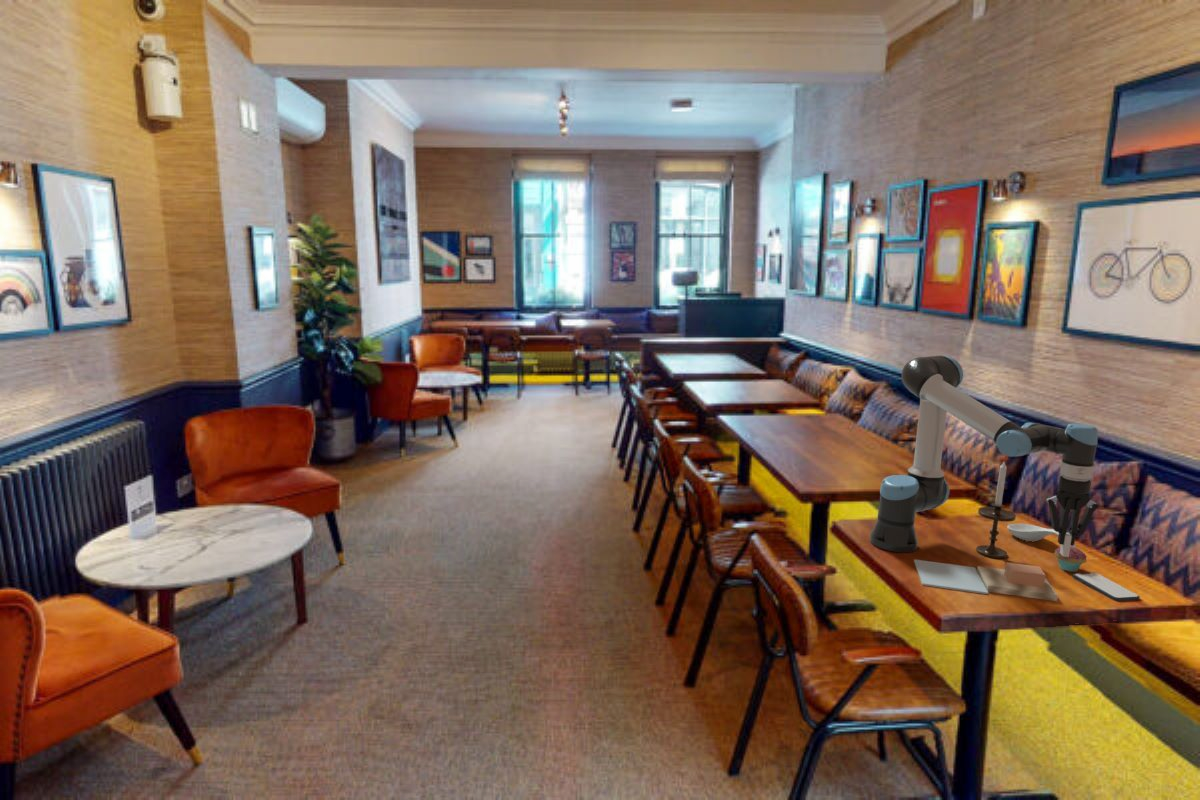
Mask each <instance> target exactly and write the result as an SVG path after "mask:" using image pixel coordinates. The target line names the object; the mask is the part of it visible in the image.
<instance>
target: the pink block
mask: <svg viewBox="0 0 1200 800" xmlns="http://www.w3.org/2000/svg"><path fill="white" fill-rule="evenodd" d="M1004 570H1005V572H1004V575H1005V577H1006V578H1007V580H1008V582H1009V583H1014V584H1021V585H1029V586H1036V587H1043V588H1044V582H1045V578H1046V577H1047V574H1045V572H1044V570H1043V569H1042V568H1041V567H1040V566H1038V565H1030V564H1022V563H1015V562H1014V563H1013V562H1008V561H1007V562H1005V565H1004Z"/></svg>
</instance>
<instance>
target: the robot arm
mask: <svg viewBox="0 0 1200 800" xmlns="http://www.w3.org/2000/svg"><path fill="white" fill-rule="evenodd" d="M963 379H964V370H963V367H962V365H961V364H960V362H959V361H958V360H956V358H954V357H952V356H950V355H949V356H948V355H939V354H938V355H932V356H920V357H919V356H918V357H915V358H913V359H910V360H908V361H907V362H906V364H905V365H904V366H903V368H902V371H901V381H902V384H903V385H904V387H905V388H906V389H907V390H908V392H910V393H912V395H915V396H916V397H917V398H919V410H918V419H917V425H916V426H917V428H916V437H915V445H914V454H913V455H914V456H913V464H912V465H911V466H910V467H909V468H908V469H907V474H906V475H905V474H899V475H897V474H892V475H889V476H887V477H884V478H883V479H882V481H881V485H880V488H879V500H878V511H877V520H876V522H875V524H874V525H873V528H872V529H871V532H870V534H869V542H870V543H871V545H874V546H875V547H876V548H879V549H882V550H885V551H889V552H893V553H894V552H895V553H911V552H915V551H916V550H917V549H918V545H919V543H918V538H917V537H918V536H917V534H916V529H915V519H916V513H919V512H924V511H927V510H933V509H937V508H938V507H940V506H943V505H944V504H945V503H946V502H947V500H948V498H949V495H950V484H949V483H947V480H946V479H945V472H944V471H943V470H942V469H941V465H942V459H943V450H944V449H943V447H944V441H945V431H946V430H945V429H946V425H947V423H946V422H947V416H948V414H950V415H951V416H953V417H955V418H956V419H958V420H959V421H961V422H962V423H964V424H965V425H967V426H968V427H970V428H972V429H973V430H974V431H976V432H979V434H981V435H983V436H985V437H986V438H987V439H989V440H991V441H992V442H993V443H995V444H996V447H997V449H998V451H999V452H1000V453H1001V454H1003V456H1005V455H1006V456H1007V457H1011V458H1012V457H1022V456H1026V455H1029V454H1034V453H1040V452H1049V453H1054V454H1056V455H1057V454H1058V455H1062V458H1061V465H1060V470H1059V471H1060V472H1059V474H1060V476H1059V479H1058V486H1057V491H1056V492H1055V494H1054V496H1052V497H1045V501H1046V503H1047V504H1048V508H1049V515H1050V521H1051V522H1050V523H1051V529H1054V530H1055V531H1056V532H1059V536H1057V543H1058V544H1059V545H1060V546H1059V547H1060V554H1061V555H1062V556H1064V557H1069V551H1070V545H1071V546H1073V545H1074V544H1076V542H1075V541H1076V537H1077V536H1078V535H1084V533H1085V532H1086V529H1087V527H1088V525H1089V523H1090V521H1091V518H1092V517H1093V514H1094V513H1095V512H1096V511H1097V510H1098V509H1099V504H1098V503H1096V502H1095V501H1093V500H1092V499H1091V496H1090V491H1091V486H1092V481H1091V479H1092V478H1093V471H1094V464H1095V458H1096V452H1097V446H1098V435H1099V430H1098V428H1097V427H1096V426H1093V425H1091V424H1085V423H1078V422H1077V423H1076V422H1075V423H1068V424H1067V426H1066V428H1062V427H1057V426H1051V425H1046V424H1041V423H1039V422H1037V423H1035V422H1026V423H1024V424H1023V425H1022V426H1019V425H1017V424H1016V423H1014V422H1012V421H1011V420H1009V419H1007V418H1006V417H1004V416H1003V415H1001V414H1000V413H997V412H996V411H994V410H993V409H992V408H991V407H988V406H986V405H985V404H983V403H981V402H980V401H978V400H976V399H975V398H973V397H971V396H970V395H968V394H967V393H965V392H963V391H961V390H960V389H959V388H957V387H959V385H961V383H962V382H963ZM1057 501H1058V503H1059V504H1060V506H1061V507H1060V508H1061V512H1060V518H1058V511H1057V506H1056V505H1057ZM1085 506H1086V507H1085ZM1084 507H1085V508H1084ZM1083 508H1084V509H1085V510H1083V511H1084V512H1083V514H1082V516H1081V518H1080V514H1081V512H1082V511H1081V510H1082V509H1083ZM1070 513H1071V514H1070ZM1069 517H1070V518H1069ZM1059 519H1060V520H1059ZM1068 523H1069V527H1068ZM1067 531H1068V532H1067Z"/></svg>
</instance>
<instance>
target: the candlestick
mask: <svg viewBox="0 0 1200 800" xmlns="http://www.w3.org/2000/svg"><path fill="white" fill-rule="evenodd" d="M1007 459H1008V456H1006V455H1004V458H1003V460H1002V464H1001V465H1000V466H999V473H998V480H997V486H996V492H995V493H996V494H995V500H994V502H991V504H990V505H991V506H992V507H991V506H982V507H979V508H978V510H977V513H978V515H979V516H981V517H983V518H985V519H988V520H993V522H992V528H991V529H990V530H989V531H988V533H989V534H990V537H989V538H988V540H990V542H989V545H987V544H985V545H983V544H982V545H978V546H976V548H975V550H976V553H978V554H979V555H980V556H984V557H986V558H990V559H996V560H1003V559H1006V558H1007V555H1008V552H1007V551H1006V550H1004V549H1003V548H1001V547H997V546H996V542H997V541H998V538H997V536H998V535H999V534H1000V531H998V524H999V522H1006V523H1008V522H1013V521H1015V520H1016V517H1017V515H1016V514H1015V512H1012V511H1010V510H1007V509H1004V508H1006V506H1005V505H1004V504H1003V497H1004V496H1003V495H1004V489H1005V482H1006V475H1007V469H1008V468H1007V465H1006V462H1007V461H1006V460H1007Z"/></svg>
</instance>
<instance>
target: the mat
mask: <svg viewBox="0 0 1200 800" xmlns="http://www.w3.org/2000/svg"><path fill="white" fill-rule="evenodd" d="M913 563H914V565H915V568H916V571H917V574H918V578H919V580H920V582H921V586H927V587H934V588H941V589H947V590H954V591H961V592H967V593H974V594H975V593H976V594H982V595H989V592H988V591H987V589H986V587H985V585H984V583H983V582H982V580H981V578H980V576H979V574H978V572H977V569H976V567H974V566H968V565H959V564H953V563H942V562H938V561H937V562H936V561H928V560H921V559H913Z"/></svg>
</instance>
